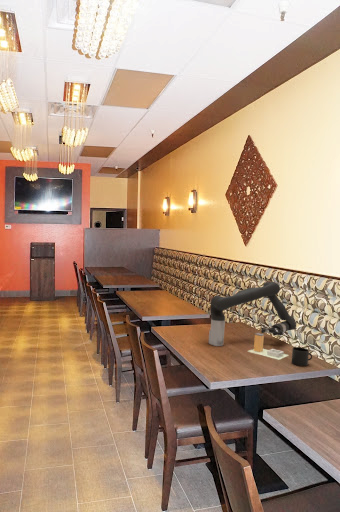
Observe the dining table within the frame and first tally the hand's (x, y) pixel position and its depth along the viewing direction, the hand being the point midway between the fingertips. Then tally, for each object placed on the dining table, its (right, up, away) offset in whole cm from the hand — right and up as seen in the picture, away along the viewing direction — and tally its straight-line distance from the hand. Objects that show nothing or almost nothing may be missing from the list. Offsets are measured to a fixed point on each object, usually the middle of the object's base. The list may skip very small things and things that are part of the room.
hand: (267, 332), depth 281 cm
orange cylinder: (-8, -10, -8) cm, 15 cm away
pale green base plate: (-3, -12, -12) cm, 18 cm away
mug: (+15, -14, -26) cm, 33 cm away
